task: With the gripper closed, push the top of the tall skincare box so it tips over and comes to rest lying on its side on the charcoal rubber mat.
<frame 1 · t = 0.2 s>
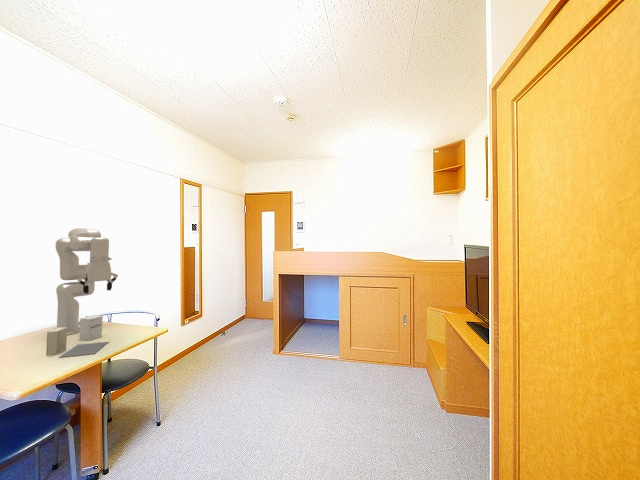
hand: (97, 291, 132), 31 cm above the table, tool pointing down, fingers open, 9 cm apart
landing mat: (85, 349, 130), on the table
supplement box: (90, 338, 145), on the table
skincare box: (56, 353, 126), on the table
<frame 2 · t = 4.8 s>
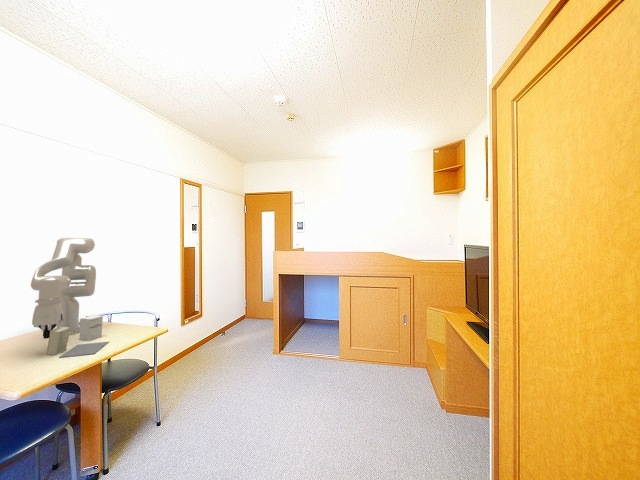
hand: (47, 337, 124), 8 cm above the table, tool pointing down, fingers closed
skincare box: (56, 352, 126), on the table, touching gripper
everything else where it was.
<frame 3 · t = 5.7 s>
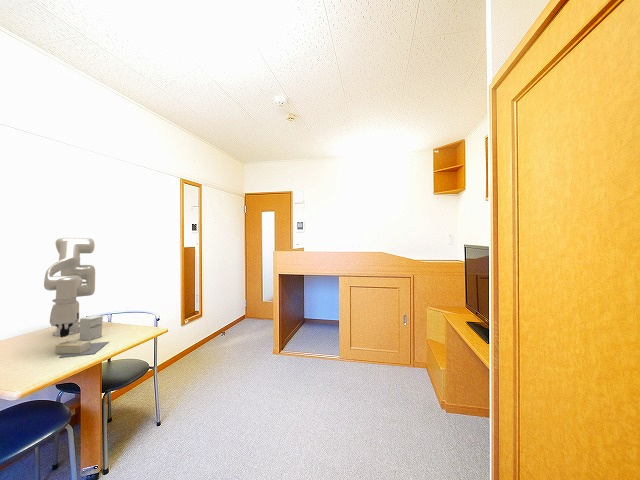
hand: (64, 336, 127), 8 cm above the table, tool pointing down, fingers closed
skincare box: (60, 347, 126), point 3 cm above the table, touching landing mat
everything else where it was.
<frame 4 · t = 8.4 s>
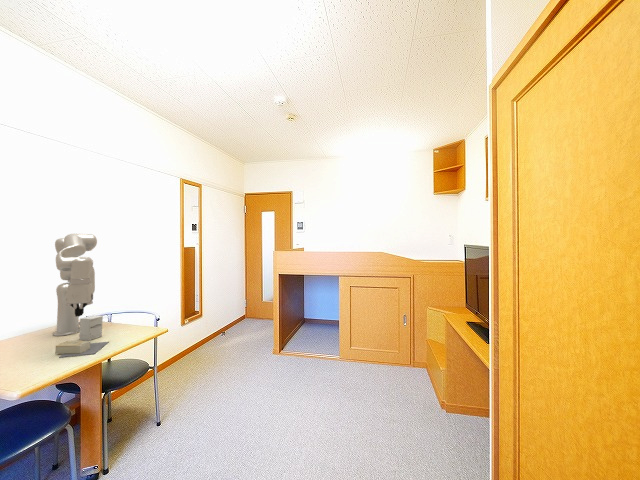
hand: (79, 315, 129), 18 cm above the table, tool pointing down, fingers closed
nothing on the table moved.
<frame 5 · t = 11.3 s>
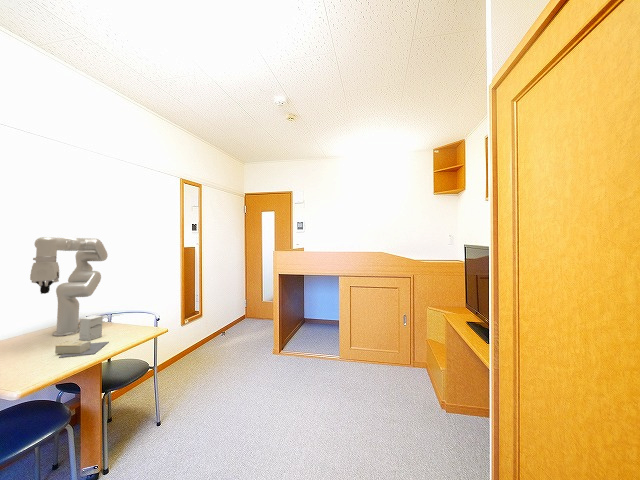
hand: (44, 293, 133), 29 cm above the table, tool pointing down, fingers closed
nothing on the table moved.
at the end: skincare box tilted 89°; skincare box touching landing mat; the gripper is holding nothing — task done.
